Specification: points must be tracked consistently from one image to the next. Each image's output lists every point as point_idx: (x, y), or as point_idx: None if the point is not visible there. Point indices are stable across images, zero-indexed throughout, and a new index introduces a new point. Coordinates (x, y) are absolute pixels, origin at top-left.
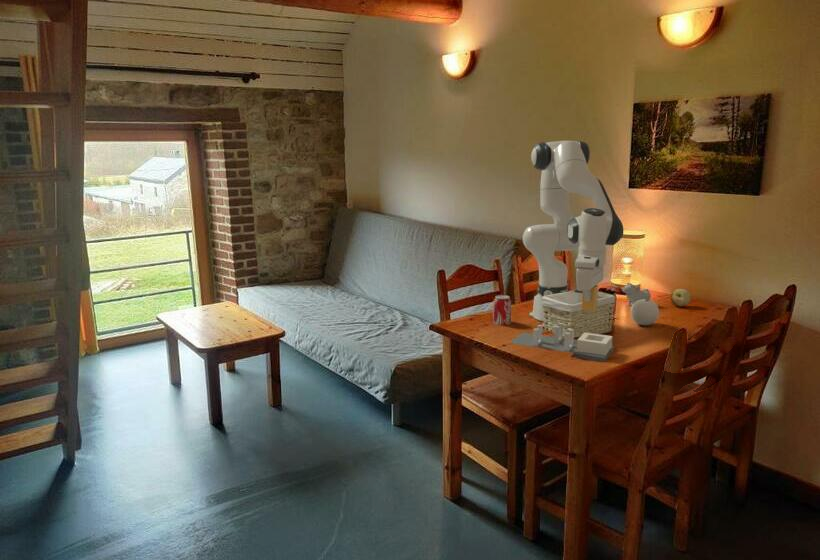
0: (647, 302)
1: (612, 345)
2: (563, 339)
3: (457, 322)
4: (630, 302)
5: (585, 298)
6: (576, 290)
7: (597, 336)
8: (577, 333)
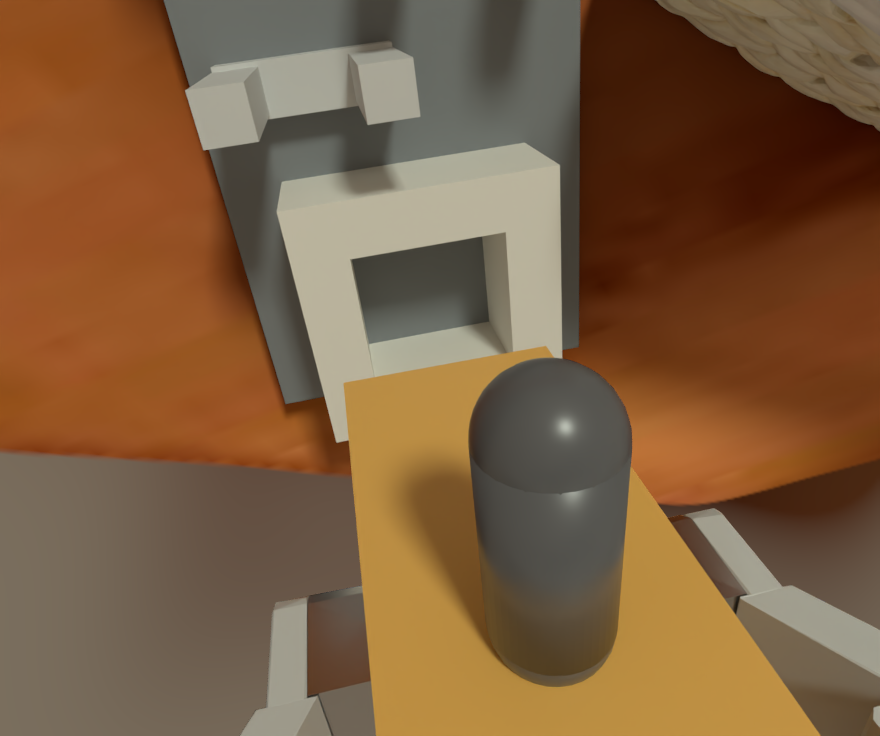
0: None
1: (575, 339)
2: None
3: None
4: None
5: (274, 654)
6: (482, 490)
7: (508, 305)
8: (698, 4)
